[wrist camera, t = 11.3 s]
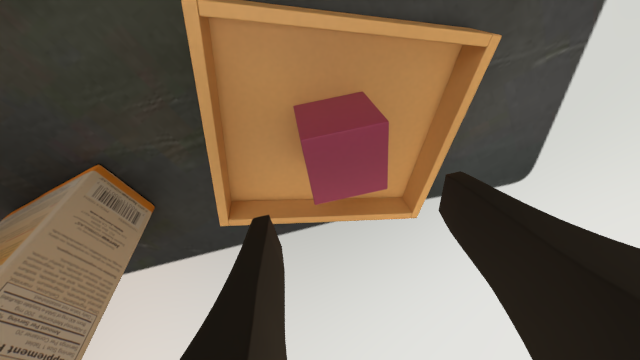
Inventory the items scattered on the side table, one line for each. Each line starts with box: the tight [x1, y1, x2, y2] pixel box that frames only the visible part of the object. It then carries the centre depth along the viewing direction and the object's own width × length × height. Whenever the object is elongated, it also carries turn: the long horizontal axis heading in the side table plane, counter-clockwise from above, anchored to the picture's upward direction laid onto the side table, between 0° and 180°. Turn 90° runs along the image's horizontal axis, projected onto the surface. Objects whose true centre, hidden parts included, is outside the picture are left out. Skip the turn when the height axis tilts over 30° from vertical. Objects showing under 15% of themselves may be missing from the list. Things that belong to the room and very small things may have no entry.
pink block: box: [293, 92, 389, 205], centre depth 15 cm, size 4×4×4 cm
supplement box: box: [0, 165, 155, 360], centre depth 13 cm, size 8×5×13 cm, turn 115°
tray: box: [181, 0, 502, 226], centre depth 17 cm, size 15×13×3 cm
